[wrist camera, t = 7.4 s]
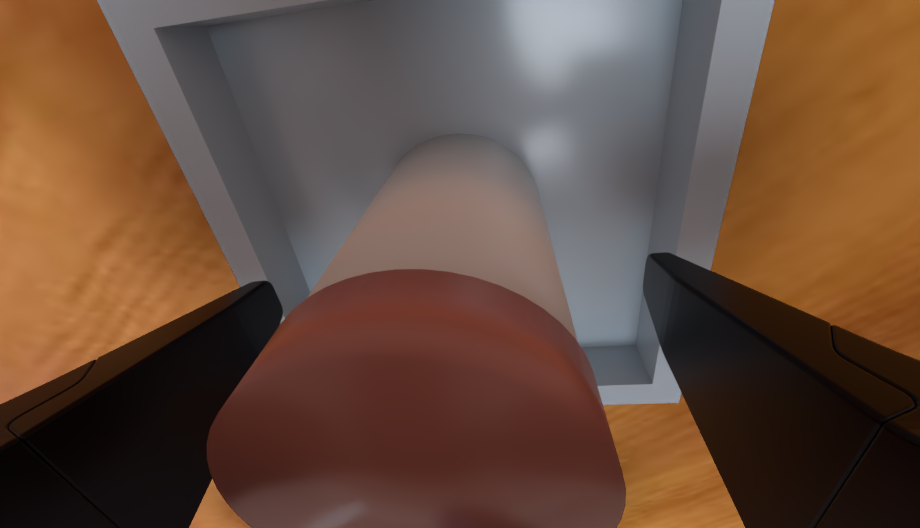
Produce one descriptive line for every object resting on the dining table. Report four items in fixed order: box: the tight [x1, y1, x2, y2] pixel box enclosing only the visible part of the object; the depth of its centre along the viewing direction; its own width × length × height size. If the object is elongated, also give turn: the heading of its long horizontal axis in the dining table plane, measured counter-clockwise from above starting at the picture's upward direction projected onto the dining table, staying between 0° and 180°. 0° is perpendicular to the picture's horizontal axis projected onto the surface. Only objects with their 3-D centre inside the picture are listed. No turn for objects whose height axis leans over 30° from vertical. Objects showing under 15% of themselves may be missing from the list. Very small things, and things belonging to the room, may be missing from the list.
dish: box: [97, 0, 775, 405], centre depth 12 cm, size 14×14×2 cm
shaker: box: [207, 134, 626, 528], centre depth 9 cm, size 5×5×9 cm
